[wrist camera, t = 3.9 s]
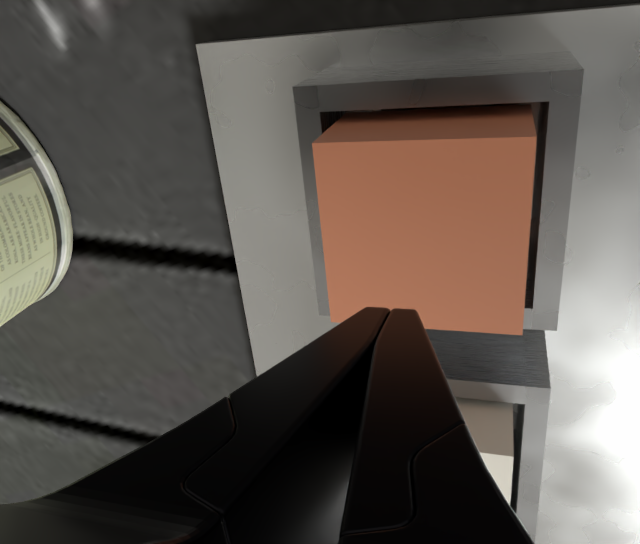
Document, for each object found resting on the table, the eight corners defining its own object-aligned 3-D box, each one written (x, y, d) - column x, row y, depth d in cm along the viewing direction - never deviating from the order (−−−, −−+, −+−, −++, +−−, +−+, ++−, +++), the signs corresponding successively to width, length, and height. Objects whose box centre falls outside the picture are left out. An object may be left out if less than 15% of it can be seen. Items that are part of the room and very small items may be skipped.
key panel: (754, -8, 13) (836, -1, 10) (614, 629, 24) (632, 733, 20) (208, 41, 17) (138, 57, 14) (299, 564, 28) (272, 642, 24)
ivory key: (512, 382, 17) (513, 457, 14) (505, 489, 18) (505, 572, 16) (365, 368, 18) (342, 434, 15) (373, 470, 20) (354, 544, 17)
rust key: (530, 104, 13) (537, 136, 10) (519, 273, 15) (522, 335, 12) (346, 112, 14) (311, 142, 12) (358, 267, 16) (330, 322, 14)
